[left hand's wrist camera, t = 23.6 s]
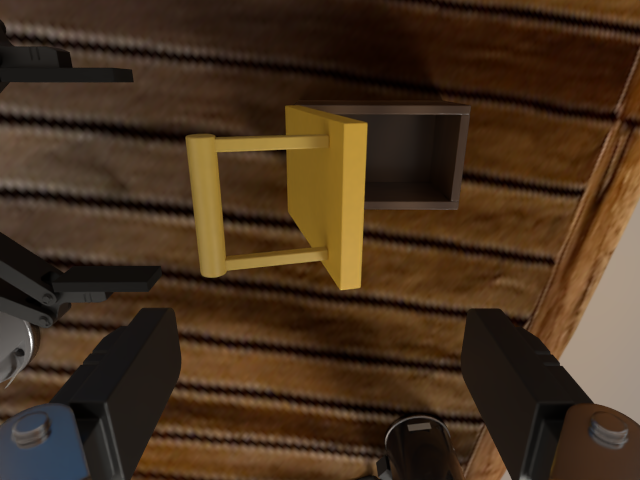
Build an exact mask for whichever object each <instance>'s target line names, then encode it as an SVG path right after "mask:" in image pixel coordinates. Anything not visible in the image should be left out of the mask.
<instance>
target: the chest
mask: <svg viewBox="0 0 640 480" xmlns="http://www.w3.org/2000/svg"><path fill="white" fill-rule="evenodd" d="M294 105H300V106H304V107H308V108H312V109H316V110H320V111H324V112H327V113H331V114H335V115H339V116H343V117H347V118H351V119H355V120H359V121H363V122H367V148H366V171H365V195H364V209H458V204H459V196H460V189H461V181H462V173H463V165H464V157H465V150H466V142H467V134H468V126H469V118H470V115H469V114H470V109H471V106H470V105H465V104H459V103H453V102H447V101H385V100H298V101H297V102H296V103H295V104H294Z"/></svg>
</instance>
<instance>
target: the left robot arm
mask: <svg viewBox="0 0 640 480" xmlns="http://www.w3.org/2000/svg"><path fill="white" fill-rule="evenodd" d="M180 370H181V351H180V344H179V338H178V331H177V324H176V317H175V313H174V310H173V309H172V308H142V309H141V310H140V311H139V312H138V314H137V315H136V316H135V317H134V319H133V320H132V321H131V323H130V324H129V325H128V326H121V327H119V328H118V329H116V330H115V331H113V332H112V333H110V334H109V335H107V336H106V337H104V338H103V339H102V340H101V342H100V343H99V344H98V345H97V346H96V347H95V349H94V350H93V353H92V354H90V355H89V356H88V357H87V358H86V359H85V361H84V362H83V365H80V366H79V368H78V369H77V370H76V371H75V372H74V374H73V375H72V376H71V377H70V378H69V380H68V381H67V382H66V383H65V384H64V385H63V387H62V388H61V389H60V390H59V391H58V393H57V394H56V395H55V396H54V397H53V399H52V400H51V401H50V402H49V403H48V404H42V405H38V406H34V407H31V408H29V409H26V410H24V411H22V412H20V413H18V414H16V415H14V416H12V417H11V418H9V419H8V420H6V421H5V422H4V423H2V424H1V425H0V480H130V479H131V477H132V475H133V473H134V471H135V469H136V467H137V465H138V462H139V460H140V458H141V456H142V454H143V452H144V450H145V448H146V446H147V443H148V441H149V439H150V437H151V435H152V433H153V431H154V429H155V427H156V425H157V422H158V420H159V418H160V416H161V414H162V412H163V410H164V408H165V406H166V404H167V401H168V399H169V397H170V395H171V393H172V391H173V389H174V387H175V385H176V383H177V380H178V378H179V375H180ZM461 370H462V375H463V378H464V381H465V383H466V385H467V387H468V389H469V391H470V393H471V395H472V398H473V400H474V402H475V404H476V406H477V408H478V410H479V412H480V414H481V416H482V418H483V420H484V422H485V425H486V427H487V429H488V431H489V433H490V435H491V437H492V439H493V441H494V443H495V445H496V447H497V449H498V452H499V454H500V456H501V458H502V460H503V462H504V464H505V466H506V468H507V470H508V472H509V474H510V476H511V479H512V480H640V425H639V424H637V423H636V422H635V421H634V420H632V419H631V418H629V417H628V416H626V415H624V414H622V413H620V412H618V411H616V410H614V409H611V408H609V407H605V406H602V405H598V404H594V403H593V402H592V400H591V399H590V398H589V397H588V396H587V395H586V393H585V392H584V391H583V390H582V389H581V387H580V386H579V385H578V384H577V383H576V382H575V380H574V379H573V378H572V377H571V376H570V374H569V373H568V372H567V371H566V370H565V369H564V367H563V366H560V363H559V362H558V360H557V359H556V358H555V357H554V356H553V355H551V354H550V351H549V350H548V349H547V347H546V346H545V345H544V344H543V343H542V342H541V340H540V339H539V338H537V337H536V336H534V335H533V334H531V333H530V332H528V331H527V330H525V329H524V328H522V327H515V326H514V325H513V324H512V323H511V321H510V320H509V319H508V318H507V316H506V315H505V314H504V312H503V311H502V310H501V309H470V310H469V312H468V314H467V319H466V326H465V333H464V339H463V346H462V353H461ZM385 447H386V450H387V454H388V457H387V456H386V455H384V456H383V457H382V458H381V459H380V460H379V461H378V462H376V465H377V472H378V477H379V478H381V479H378V478H377V477H376V476H367V477H363V478H360V479H357V480H465V477H464V475H463V472H462V469H461V466H460V464H459V461H458V458H457V455H456V453H455V450H454V447H453V444H452V442H451V439H450V434H449V431H448V429H447V427H446V425H445V424H444V423H443V422H442V421H441V420H440V419H438V418H436V417H434V416H432V415H428V414H411V415H407V416H404V417H402V418H400V419H398V420H396V421H395V422H394V423H393V424H392V425H391V426H390V427H389V428H388V430H387V432H386V434H385Z"/></svg>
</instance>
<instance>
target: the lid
mask: <svg viewBox="0 0 640 480" xmlns="http://www.w3.org/2000/svg"><path fill="white" fill-rule="evenodd" d="M285 114H286V135H277V136H244V137H215V135H212V134H193V135H188V136H186V146H187V155H188V164H189V173H190V182H191V190H192V199H193V208H194V217H195V226H196V235H197V244H198V253H199V261H200V270H201V274H202V275H203V276H205V277H219V276H222V275H224V274H225V273H226V272H227V271H228V270H237V269H246V268H255V267H265V266H274V265H283V264H293V263H302V262H311V261H321V262H322V263H323V265H324V266H325V268H326V269H327V271H328V272H329V274H330V275H331V277H332V278H333V280H334V281H335V283H336V284H337V286H338V287H339V289H340V290H346V289H354V288H360V287H361V266H362V242H363V219H364V195H365V171H366V148H367V122H363V121H359V120H355V119H351V118H347V117H343V116H339V115H335V114H331V113H327V112H324V111H320V110H316V109H312V108H308V107H304V106H300V105H288V106H285ZM285 149H286V152H287V189H288V212H289V214H290V215H291V217H292V218H293V220H294V221H295V223H296V224H297V226H298V227H299V229H300V230H301V232H302V233H303V235H304V236H305V238H306V239H307V241H308V242H309V244H310V245H311V247H312V248H303V249H293V250H283V251H273V252H262V253H252V254H242V255H232V256H226V250H225V238H224V227H223V215H222V204H221V192H220V181H219V169H218V158H217V152H233V151H259V150H285Z"/></svg>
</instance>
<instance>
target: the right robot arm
mask: <svg viewBox="0 0 640 480" xmlns="http://www.w3.org/2000/svg"><path fill="white" fill-rule="evenodd" d="M5 34H6V27H5V25H4V23H3V22H2V21H1V20H0V93H1V92H2V91H3V89H4V88H5V87H6V86H7V85H8V84H9V83H10V82H134V81H133V74H132V70H130V69H119V68H73V67H72V62H71V57H70V52H68V51H65V50H63V49H59V48H52V47H15V46H13V45H12V44H11V43H10V42H9V40H8V39H7V37H6V35H5ZM161 276H162V272H161V266H73V267H72V268H71V269H69V270H68V271H66V272H65V273H63V272H61V271H60V270H58V269H57V268H55V267H54V266H52V265H51V264H49V263H47V262H46V261H44V260H43V259H41V258H40V257H38V256H37V255H35V254H33V253H32V252H30V251H29V250H27V249H26V248H24V247H23V246H21V245H20V244H18V243H16V242H15V241H13V240H12V239H10V238H9V237H7V236H6V235H4V234H2V233H1V232H0V383H1V382H3V381H5V380H7V379H9V378H11V377H13V376H14V377H13V378H12V379H11V381H10V382H9V384H10V383H11V382H12V380H13V379H14V378H15V376H16V375H17V374H18V373H19V372H20V371H21V370H22V369H23V368H25V367H26V366H27V365H28V364H29V363H30V362H31V361H32V359H33V358H34V357H35V355H36V353H37V351H38V348H39V344H40V331H39V326H40V327H43V328H49V327H50V326H52V325H53V324H54V323H55V322H56V321H57V320H58V319H59V318H61V317H62V316H63V315H64V314H65V313H66V312H67V311H68V310H69V309H70V308H71V303H70V302H102V301H105V300H107V299H108V298H109V297H110V296H111V295H112V294H113V293H114V292H149V290H150V289H151V288H152V287H153V285H154V284H155V283H156V282H157V281H158V279H159V278H160V277H161ZM49 285H50V286H49ZM9 384H8V385H9ZM8 385H7V386H8ZM7 386H6V387H7Z"/></svg>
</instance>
